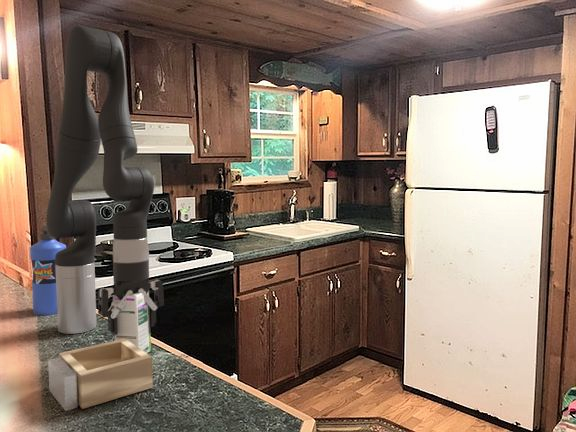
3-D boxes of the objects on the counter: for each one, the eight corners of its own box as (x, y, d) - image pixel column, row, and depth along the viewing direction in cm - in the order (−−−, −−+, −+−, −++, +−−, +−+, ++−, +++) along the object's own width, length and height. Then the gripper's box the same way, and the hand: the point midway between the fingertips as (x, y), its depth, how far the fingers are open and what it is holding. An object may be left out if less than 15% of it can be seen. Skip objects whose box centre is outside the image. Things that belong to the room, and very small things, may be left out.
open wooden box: (60, 383, 94) (58, 353, 93) (125, 365, 102) (125, 338, 102) (82, 409, 84) (81, 375, 83) (152, 387, 92) (152, 357, 92)
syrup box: (138, 360, 106) (137, 295, 104) (114, 358, 107) (112, 293, 105) (151, 351, 111) (150, 289, 110) (127, 348, 112) (126, 287, 111)
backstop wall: (49, 390, 91) (48, 359, 90) (60, 387, 92) (59, 357, 92) (65, 411, 84) (64, 377, 83) (77, 407, 85) (76, 374, 84)
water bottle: (58, 315, 136) (55, 227, 134) (25, 315, 137) (22, 227, 134) (73, 306, 146) (70, 223, 143) (43, 305, 146) (39, 223, 143)
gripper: (153, 252, 114) (155, 319, 116) (92, 259, 105) (94, 332, 106) (168, 256, 108) (169, 327, 110) (104, 264, 99) (107, 341, 101)
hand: (132, 329), depth 108 cm, fingers closed on syrup box, 8 cm apart
